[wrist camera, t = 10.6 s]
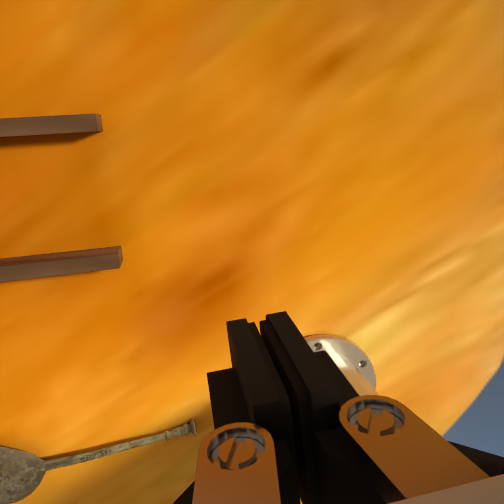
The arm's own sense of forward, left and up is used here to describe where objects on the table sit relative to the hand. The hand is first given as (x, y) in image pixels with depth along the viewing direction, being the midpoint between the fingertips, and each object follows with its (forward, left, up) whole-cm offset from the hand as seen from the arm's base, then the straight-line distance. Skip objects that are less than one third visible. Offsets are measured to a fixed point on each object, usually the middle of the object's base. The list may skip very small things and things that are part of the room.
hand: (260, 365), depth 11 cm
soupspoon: (-22, +13, -27) cm, 37 cm away
